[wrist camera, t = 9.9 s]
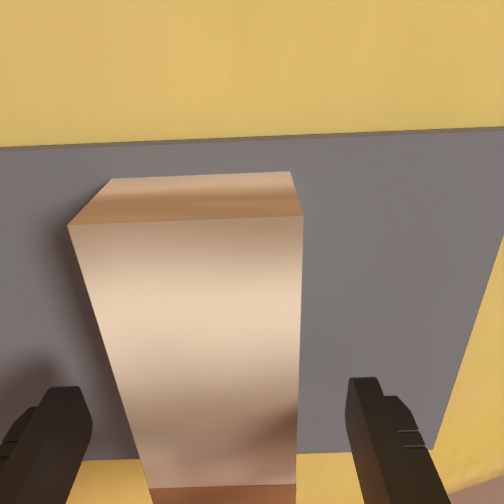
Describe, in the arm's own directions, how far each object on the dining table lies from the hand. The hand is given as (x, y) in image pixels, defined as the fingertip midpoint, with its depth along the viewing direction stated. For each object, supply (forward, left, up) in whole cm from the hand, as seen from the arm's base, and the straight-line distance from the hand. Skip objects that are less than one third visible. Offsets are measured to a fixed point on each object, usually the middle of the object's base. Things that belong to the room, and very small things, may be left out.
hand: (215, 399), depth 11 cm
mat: (-2, 0, -3) cm, 4 cm away
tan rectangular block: (0, 0, -3) cm, 3 cm away
